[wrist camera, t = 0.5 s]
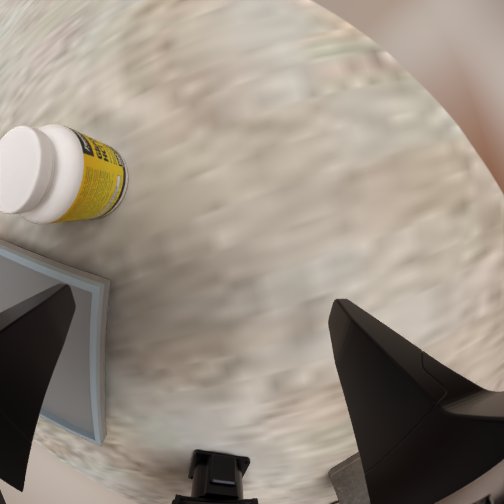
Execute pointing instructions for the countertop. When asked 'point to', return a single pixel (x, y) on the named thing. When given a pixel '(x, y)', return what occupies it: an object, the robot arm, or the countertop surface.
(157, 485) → the countertop surface
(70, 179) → the pill bottle
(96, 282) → the grey square tray
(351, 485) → the flask
